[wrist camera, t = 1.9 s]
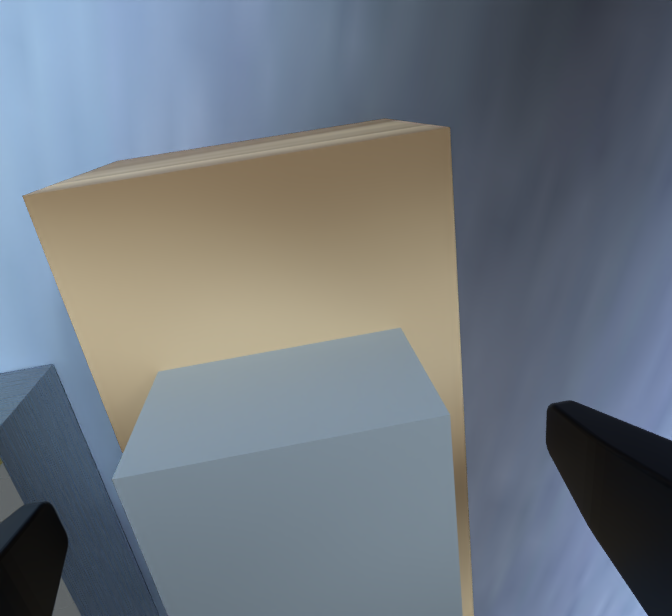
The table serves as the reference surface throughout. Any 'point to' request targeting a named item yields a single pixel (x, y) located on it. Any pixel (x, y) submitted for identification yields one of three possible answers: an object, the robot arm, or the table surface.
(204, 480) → the grey blue block
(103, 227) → the tan stepped block
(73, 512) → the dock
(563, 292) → the table surface
